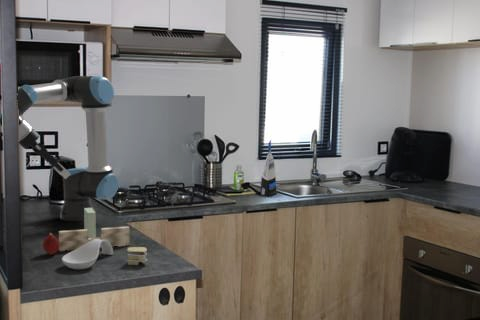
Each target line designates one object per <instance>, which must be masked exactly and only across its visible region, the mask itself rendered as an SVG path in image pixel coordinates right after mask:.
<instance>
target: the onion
mask: <svg viewBox="0 0 480 320" xmlns="http://www.w3.org/2000/svg"><path fill="white" fill-rule="evenodd" d="M59 246H60V243H59V238H57V237H56V236H55V235H54V234H52V233H51V232H49V234H48V236H46V237H45V239H44V241H43V243H42V248H43V250H44V251H45V252H46V253H47V254H49V255H50V256H53V255H54V254H55V253H57V252H58V251H59Z"/></svg>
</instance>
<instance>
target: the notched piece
mask: <svg viewBox="0 0 480 320" xmlns="http://www.w3.org/2000/svg"><path fill="white" fill-rule="evenodd" d="M92 208H93V207H92ZM92 208H84V221H83V222H84V224H83V226H84V227H83V228H84V229H88V236H89V238H97V224H96V223H97V221H96V220H97V219H96V217H97V216H96V215H97V213H96V211H95V209H94V208H93V209H92Z"/></svg>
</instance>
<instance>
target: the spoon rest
mask: <svg viewBox="0 0 480 320" xmlns="http://www.w3.org/2000/svg"><path fill="white" fill-rule="evenodd" d="M100 244H102V248H100ZM100 249H101V254H103V255H106V254H107V256H113V255H114V248H113V247H112V246H111V244H110V243H109V242H108V241H107V240H101V239H94V240H92V241H90V242H88V243H87V244H85V245H83V246H81V247H80V248H78V249H76V250H71V251H70V252H68V253H66V254H65V255H64V254H63V256H62V257H61V262H62V263H63V264H64V265H65V266H66V267H67V268H69V269H72V270H80V271H81V270H87V269H89V268H90V267H92V265H94V264H95V263H96V261H97V260H98V257H99V254H100Z"/></svg>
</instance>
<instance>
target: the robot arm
mask: <svg viewBox="0 0 480 320" xmlns="http://www.w3.org/2000/svg"><path fill="white" fill-rule="evenodd" d="M17 87H18V109H19V140H18V144H19V145H20V146H21V147H22V148H23V149H25V150H26V149H29V148H30V147H31V148H32V149H31V150H32V151H33V152H34V153H35V154H37V155H38V156H40V158H41V157H42V159H44V161H46V163H48V165H50V168H51V169H54V170H55V172H57V173H58V174H59V175H60V176H61V177H62V178H63V179H62V180H63V182H62V183H63V199H64V200H63V205H62V206H61V207H62V208H61V210H60V213H59V214H60V215H59V216H60V217H59V218H60V220H62V221H64V222H84V208H92V209H93V210H94V208H93V205H92V202H91V199H98V200H110V199H111V198H113V197H115V195H116V194H117V191H118V189H119V184H120V181H119V178H118V176H117V175H116V174H115V173H113V172H114V171H113V167H112V166H111V165H110V164H109V148H108V147H109V146H108V145H109V144H108V130H107V127H108V126H107V110H108V109H109V108H110V104H111V102H112V101H113V98H114V95H115V91H114V90H115V89H114V86H113V84H112V82H111V81H110V80H109V79H108V78H106V77H105V76H99V75H76V76H70V77H66V78H61V79H55V80H53V82H48V83H40V84H39V83H38V84H33V85H31V84H30V85H29V84H23V85H22V86H17ZM55 101H56V102H58V103H59V102H60V103H62V102H71V103H79V104H80V103H81V109H82V110H83V111H84V112H85V124H86V126H85V127H86V137H87V138H86V140H87V152H88V153H87V156H88V157H87V158H88V166H87V167H86V166H84V167H77V168H69V169H66V168H65V167H64V166H63V165H62V164H61V163H60V161H59V160H58V159H56V158H55V156H54V155H51V154H50V153H49V152H48V149H47V148H46V147H45V145H43V143H42V142H37V140H38V139H39V138H40V134H39V133H38V131H36V130H35V129H33V128H32V126H31V125H30V124H29V123H28V121H26V120H25V119H24V118H23V117H22V116H23V115H24V113H25V112H27V111H28V110H29V109H30V108H31V107H32V106H33V105H34V104H39V103H46V102H47V103H48V102H55ZM0 127H1V128H2V114H1V107H0Z"/></svg>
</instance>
